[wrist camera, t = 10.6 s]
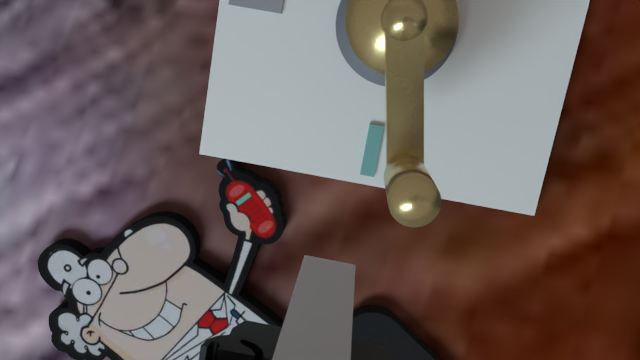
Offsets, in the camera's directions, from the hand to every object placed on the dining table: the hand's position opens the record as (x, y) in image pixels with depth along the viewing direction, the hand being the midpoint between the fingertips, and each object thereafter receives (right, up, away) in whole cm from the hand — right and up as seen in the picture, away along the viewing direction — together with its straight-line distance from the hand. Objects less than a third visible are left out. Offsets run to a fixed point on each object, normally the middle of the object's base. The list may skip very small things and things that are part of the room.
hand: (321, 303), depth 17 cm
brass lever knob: (+5, +10, +19) cm, 22 cm away
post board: (+5, +14, +24) cm, 28 cm away
